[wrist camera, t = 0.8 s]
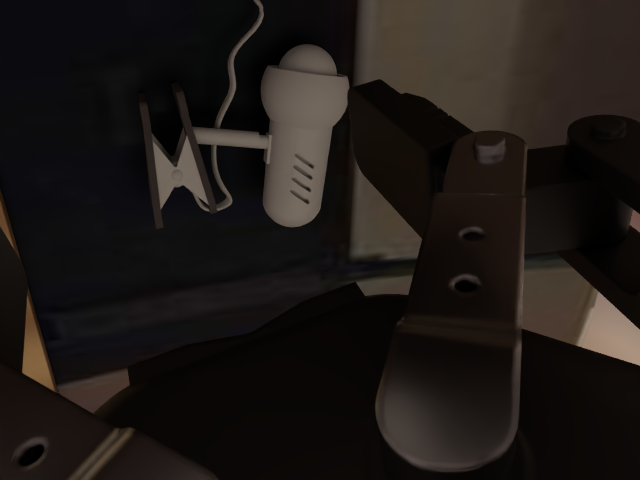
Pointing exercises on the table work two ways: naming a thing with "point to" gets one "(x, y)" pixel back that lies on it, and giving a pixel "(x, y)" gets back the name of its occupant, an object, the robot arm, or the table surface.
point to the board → (30, 325)
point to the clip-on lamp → (260, 137)
